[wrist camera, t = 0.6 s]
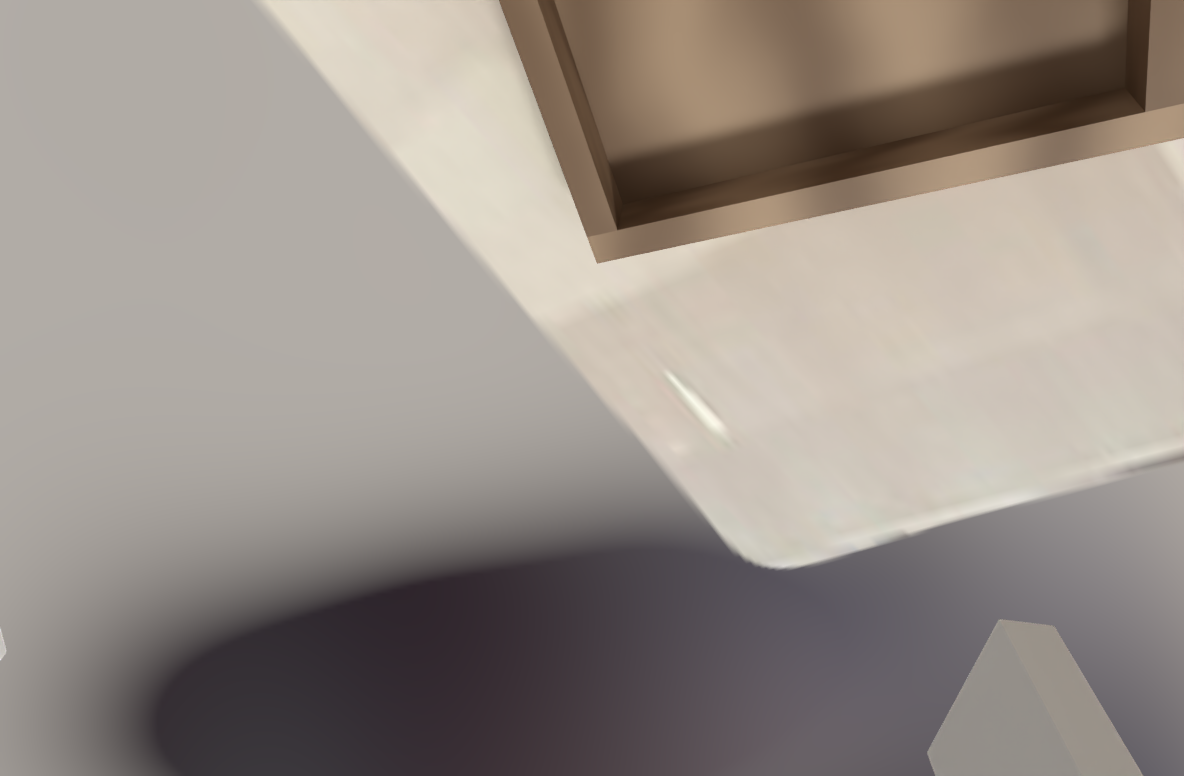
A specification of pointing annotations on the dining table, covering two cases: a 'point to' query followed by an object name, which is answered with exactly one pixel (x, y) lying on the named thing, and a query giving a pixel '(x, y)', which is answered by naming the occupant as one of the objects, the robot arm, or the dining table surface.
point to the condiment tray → (830, 102)
